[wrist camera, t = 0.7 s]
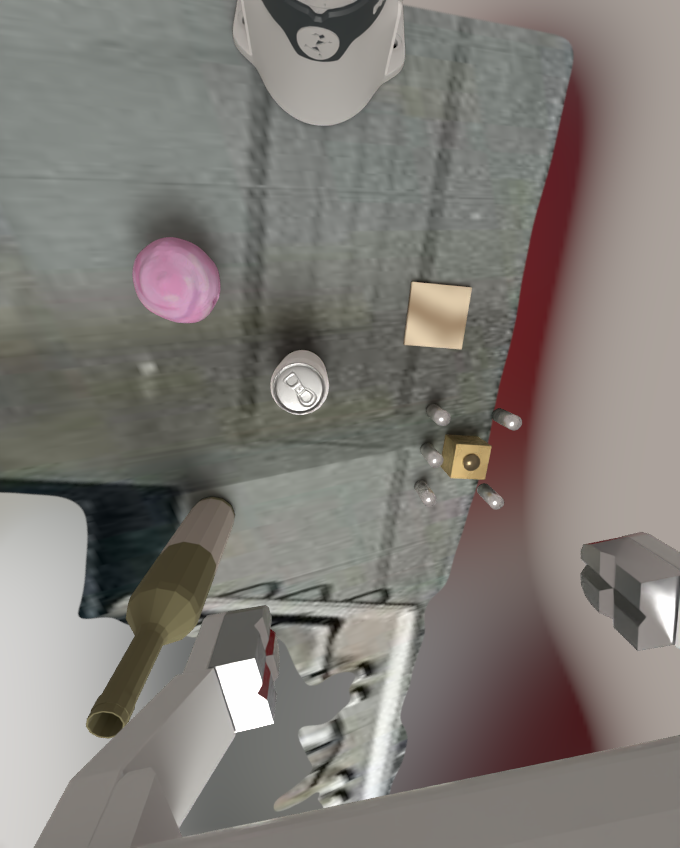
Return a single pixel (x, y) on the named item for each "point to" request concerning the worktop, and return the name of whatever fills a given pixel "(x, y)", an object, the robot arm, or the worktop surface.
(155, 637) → the bottle
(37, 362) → the worktop surface
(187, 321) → the cupcake
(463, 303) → the coaster
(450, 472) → the cube with brass knob
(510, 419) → the spacer posts
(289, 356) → the can
